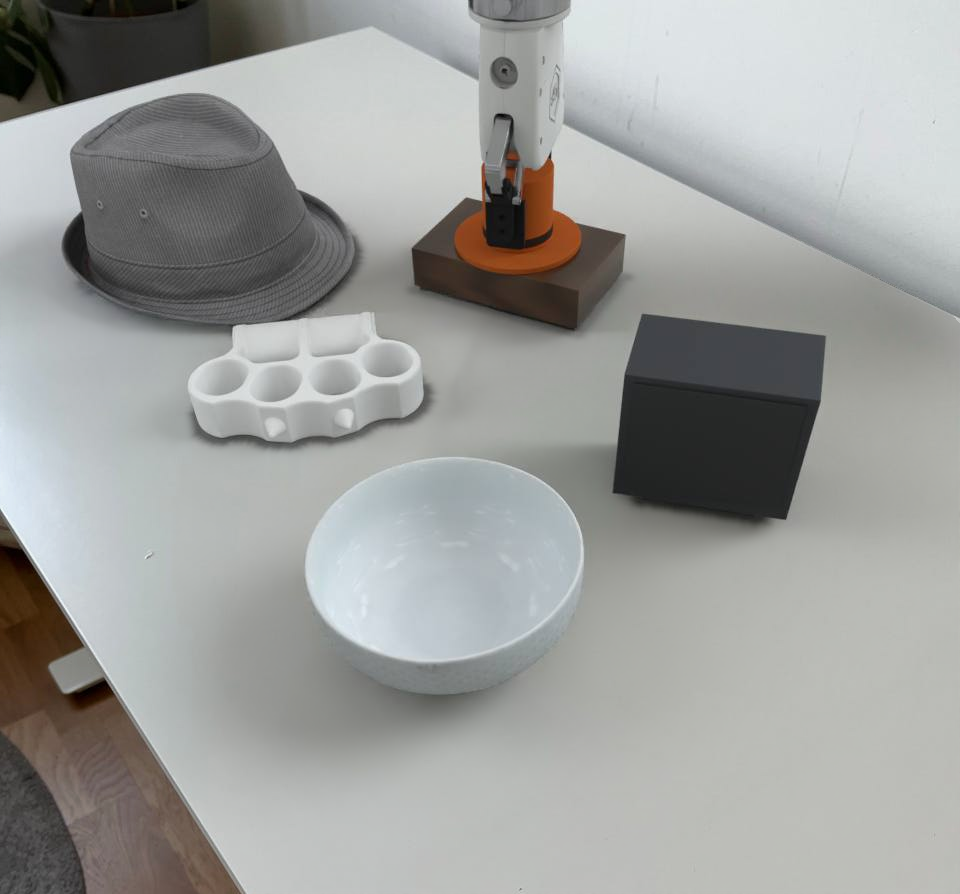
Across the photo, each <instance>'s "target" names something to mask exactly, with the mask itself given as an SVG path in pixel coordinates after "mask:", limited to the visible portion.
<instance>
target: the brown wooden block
mask: <svg viewBox="0 0 960 894" xmlns="http://www.w3.org/2000/svg"><path fill="white" fill-rule="evenodd" d="M481 211H483V210H482V200H479V199H476V198H471V197H467V196H466V197H465V198H463V199H462V200H461V201H460V202H459V203H458V204H457V205H456V206H455V207H453V209H452V210H450V211H449V212H448V213H447V214H446V215H444V217H443V218H442V219H441V220H440V221H439V222H437V224H435V226H434V227H432V228H431V229H430V230H429V231H428V232H426V234H425V235H424V236H422V237H421V239H420V240H418V241H417V242H416V243H415V244H414V245H413V246H412V247H411V258H412V270H413V280H414V281H413V283H414V286H416V287H419V288H420V289H422V290H426V291H430V292H434V293H437V294H441V295H445V296H448V297H451V298H455V299H459V300H463V301H467V302H471V303H474V304H478V305H482V306H486V307H489V308H492V309H496V310H500V311H504V312H507V313H512V314H515V315H518V316H523V317H526V318H529V319H534V320H537V321H541V322H544V323H547V324H548V323H549V324H552V325H555V326H559V327H563V328H566V329H571V330H578V328H579V327H580V325H581V324H582V323H583V322H584V320H586V318H587V317H588V316H589V315H590V313H591V312H592V311H593V310H594V309H595V307H596V306H597V305H598V303H599V302H600V301H601V300H602V298H603V297H604V296H605V294H607V292H608V291H609V290H610V288H611V287H612V286H613V285H614V284H615V282H616V280H617V279H619V277H620V276H621V274H622V273H623V270H624V262H625V261H624V259H625V250H626V237H627V234H626V233H621V232H617V231H614V230H613V231H612V230H609V229H605V228H600V227H595V226H592V225H588V224H584V223H583V224H582V223H578V222H575V223H576V224H577V226H578V227H579V229H580V232H581V244H580V247H579V249H578V251H577V253H576V254H575V255H574V256H573V257H572V258H571V259H570V260H568V261H567V262H565V263H564V264H562V265H560V266H558V267H555V268H553V269H550V270H547V271H542V272H538V273H532V274H515V275H513V274H501V273H494V272H490V271H486V270H483V269H480V268H478V267H475V266H473V265H471V264H469V263H468V262H467V261H465V260H464V259H463V258H462V257H461V256H460V255H459V253H458V252H457V250H456V247H455V233H456V231H457V229H458V227H459V226H460V225H461V223H462V222H464V221H465V220H466V219H467V218H469V217H470V216H472V215H474V214H476V213H478V212H481Z"/></svg>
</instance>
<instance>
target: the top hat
mask: <svg viewBox="0 0 960 894" xmlns="http://www.w3.org/2000/svg"><path fill="white" fill-rule="evenodd" d="M507 159H516V160H519V155H518V154H508V155H507ZM480 168H481V169H480V171H481V174H480V175H481V201H482V210H483V211H481V212H478V213H476V214H474V215H472V216H470V217H469V218H467V219H466V220H465V221H464V222H462V223H461V225H460V226H459V227H458V229H457V231H456V233H455V247H456V250H457V252H458V253H459V255H460V256H461V257H462V258H463V259H464V260H465V261H467V262H468V263H469V264H471V265H473V266H475V267H478V268H480V269H483V270H486V271H490V272H494V273H501V274H513V275H515V274H532V273H538V272H542V271H547V270H550V269H553V268H555V267H558V266H560V265H562V264H564V263H565V262H567V261H568V260H570V259H571V258H572V257H573V256H574V255H575V254H576V253H577V251H578V249H579V247H580V244H581V232H580V229H579V227H578V226H577V224H576V223H577V222H576V221H574V220H573V219H572V218H571V217H570V216H568V215H566V214H564V213H563V212H560V211H558V210H555V209H554V191H555V189H554V188H555V163H554V161H553V160H552V158H551V159H550V158H549V157H548V158H547V160H546V162H545V163H544V165H543V166H542V167H541V168H540V169H539V170H537V171H533V170H532V168H526V169H525V176H524V184H523V191H522V198H521V199H522V200H526V230H525V246H524V248H523V249H522V250H516V249H507V248H498V247H490V246H488V245H487V243H486V213H485V186H484V185H485V181H486V176H485V163H484V162H483V161H482V163H481V167H480ZM515 172H516V171H508V170H506V176H505V178H509V179H510V181H511V183H512V185H513V186H514V179H515Z"/></svg>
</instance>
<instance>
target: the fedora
mask: <svg viewBox="0 0 960 894" xmlns="http://www.w3.org/2000/svg"><path fill="white" fill-rule="evenodd" d="M69 160H70V165H71V166H70V167H71V170H72V176H73V181H74V186H75V191H76V193H77V198H78V201H79V206H80V212H78V213H77V214H76V215H75V216H74V217H73V219H72V220H71V221H70V223H69V224H68V226H67V227H66V229H65V231H64V233H63V235H62V239H61V246H60V248H61V254H62V258H63V260H64V262H65V264H66V265H67V267H68V268H69V269H70V271H71V272H72V273H73V275H74V276H75V277H77V279H79V280H80V281H81V282H82V283H83V284H84V285H85V286H86V287H88V288H89V289H90V290H92V292H93V293H95V294H96V295H98V296H99V297H101V298H103V299H104V300H105V301H108V302H109V303H112V304H114V305H117V306H119V307H121V308H123V309H125V310H129V311H131V312H134V313H139V314H143V315H147V316H150V317H153V318H159V319H165V320H170V321H177V322H185V323H190V324H191V323H192V324H200V325H210V326H223V327H224V326H226V327H234V326H236V325H244V324H246V325H252V324H261V323H271V322H281V321H284V320H286V319H288V318H290V317H293V316H295V315H297V314H299V313H301V312H304V311H305V310H307V309H309V308H310V307H312V306H313V305H315V304H316V303H317V302H318V301H320V300H321V299H323V298H324V297H325V296H327V294H329V293H330V292H331V291H332V290H333V289H334V288H336V286H337V285H338V284H339V283H340V282H341V281H342V280H343V279H344V277H346V275H347V274H348V273H349V271H350V269H351V268H352V266H353V262H354V257H355V255H356V253H355V252H356V251H355V250H356V247H355V242H354V238H353V235H352V234H351V231H350V229H349V227H348V225H346V223H345V222H344V220H343V218H342V217H341V216H340V215H339V213H338V212H337V211H335V210H334V208H332V207H331V206H330V205H329V204H327V203H326V202H324V201H323V200H321V199H320V198H319V197H317V196H315V195H312V194H310V193H308V192H306V191H303V190H301V189H299V188H297V185H296V183H295V181H294V179H293V178H292V177H291V174H290V173H289V172H288V169H287V167H286V165H285V163H284V161H283V159H282V156H281V154H280V152H279V151H278V149H277V147H276V144H275V142H274V141H273V139H272V138H271V137H270V135H269V134H268V133H267V132H266V131H265V130H263V129H262V128H261V126H260V125H258V124H257V123H256V122H255V121H254V120H253V119H252V118H251V117H250V116H249V115H247V114H246V113H245V112H244V110H242V109H241V108H240V107H238V106H237V105H235V104H233V102H230V101H228V100H226V99H224V98H223V97H220V96H217V95H214V94H210V93H204V92H184V93H175V94H171V95H166V96H161V97H158V98H154V99H152V100H149V101H145V102H141V103H139V104H138V103H137V104H135V105H132V106H130V107H127V108H125V109H123V110H121V111H119V112H117V113H115V114H113V115H111V116H109V117H108V118H106V119H105V120H104V121H102V122H101V123H100V124H98V125H95V126H94V127H93V128H91V129H90V130H88V131H87V132H85V133H84V134H83V135H81V137H80V138H79V139H78V140H77V141H76V142H75V143H74V144H73V145H72V147H71V149H70V152H69Z"/></svg>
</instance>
